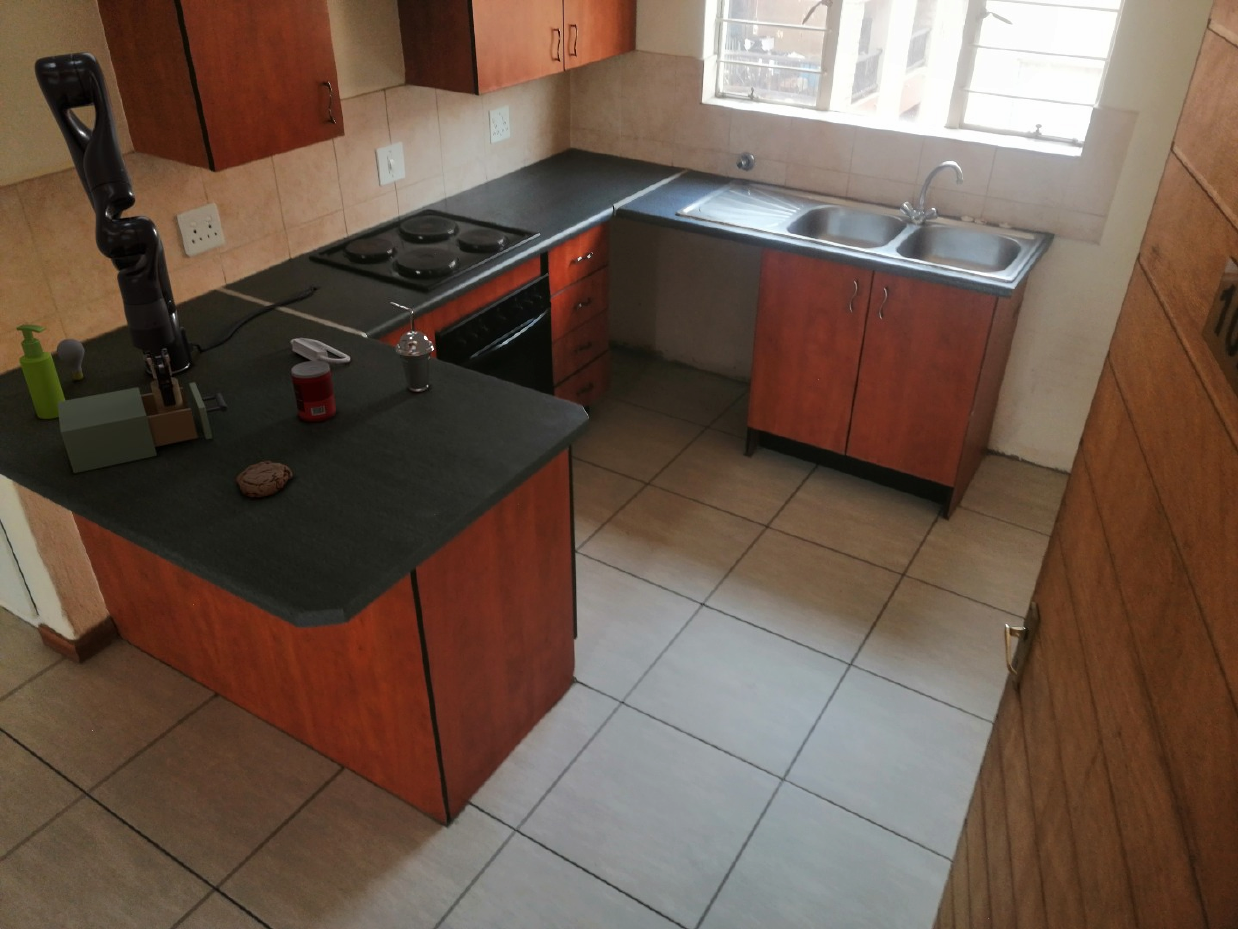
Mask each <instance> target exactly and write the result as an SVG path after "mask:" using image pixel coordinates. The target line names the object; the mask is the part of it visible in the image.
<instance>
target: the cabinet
mask: <svg viewBox="0 0 1238 929" xmlns="http://www.w3.org/2000/svg"><path fill="white" fill-rule="evenodd" d="M141 395H142V394H141V392H140V387H132V388H128V389H122V390H116V391H111V392H104V393H99V394H94V395H88V396H83V397H77V398H71V399H65V401H61V402H57V403H58V412H59V417H58V419H59V420H58V421H59V430H60V435H61V437H62V440H63V444H64V447H65V450H66V453H67V456H68V459H69V463H70V466H71V469H72V472H73V474H78V473H82V472H86V471H92V470H96V469H101V468H106V467H111V466H116V465H120V464H125V463H129V462H134V461H138V460H143V459H147V458H153V457H156V456H158V454H157V450H156V447H155V446H154V442H153V438H152V434H151V431H150V427H149V423H148V419H147V416H146V412H145V409H144V405H143V402H142V398H141Z"/></svg>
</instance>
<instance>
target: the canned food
mask: <svg viewBox="0 0 1238 929" xmlns="http://www.w3.org/2000/svg"><path fill="white" fill-rule="evenodd" d="M290 375H291V380H292V386H293V391H294V396H295V403H296V407H297V413H298V416H299V418H300V419H301V420H303V421H305V422H310V423H315V422H323V421H326V420H328V419H330V418H332V417H333V416H335V414H336V411H337V407H336V399H335V393H334V385H333V381H332V372H331V367H330V363H329V362H327V363H326V362H322V361H312V360H309V361H303V362H300V363H297V364H295V365H293V366H292V368H291V369H290Z"/></svg>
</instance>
